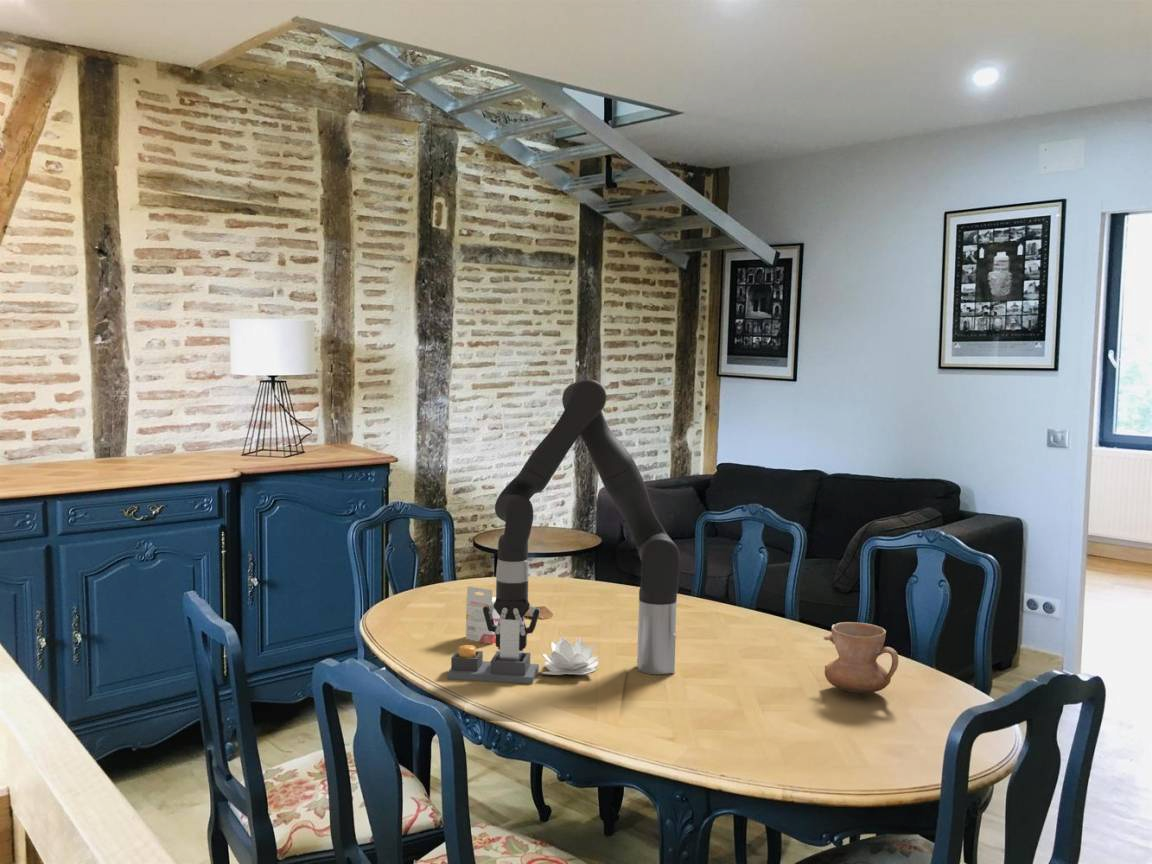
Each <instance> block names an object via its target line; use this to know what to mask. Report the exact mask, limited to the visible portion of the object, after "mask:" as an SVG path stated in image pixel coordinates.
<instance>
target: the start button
mask: <svg viewBox="0 0 1152 864" xmlns="http://www.w3.org/2000/svg"><path fill="white" fill-rule="evenodd" d="M476 648H477V647H476V645H473V644H472V645H471V644H464V645H460V646H458V650H459V657H468V658H475V657H476V651H477V649H476Z"/></svg>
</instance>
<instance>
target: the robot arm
mask: <svg viewBox="0 0 1152 864" xmlns="http://www.w3.org/2000/svg"><path fill="white" fill-rule="evenodd" d="M561 398H562V399H561V402H562V407H563V409H564V410H563V412H562V414H561V415H560V417H559V419H558V420H557V422H556V423H555V425H554V426H553V428H552V429H551V430H550V431H549V433H547V434H546V436H545V437H544V438H543V439H542V440H541V442H539V444H538V445H537V446H536V448H535V449H534V450H533V451H532V453H531V454H530V456H529V457H528V459H527V460H526V462H525V463H524V465H523V467H522V469H521V470H520V471H519V473H518V474H517V475H516V476H515V477H513V479H512V480H511V481H510V482H509V484H507V485H506V486H505V487H504V489H502V491H501V492H500V494H499V495H498V496H497V499H496V501H495V504H494V513H495V515H496V517H497V518H499V520H501V521H503V522H505V525H504V526H505V527H504V533H502V534H501V535H500V536H499V538H498V541H497V543H498V544H497V564H496V572H495V578H496V579H495V583H496V585H495V587H496V588H495V590H496V591H495V597H496V601H495V603H494V604H491V605H488V604H487V605H485V606H484V608H483V612H484V616H485V620H486V624H487V628H488V630H489V631H492V632H495V634H496V643H495V647H496V648H497V649H498V650H497V651H500V620H501V619H505V618H511V619H517V620H520V633H521V635H520V651H522V652H524V649H526V647H527V644H528V643H527V641H528V636H527V635H528V634H533V633H534V631H535V629H536V626H537V623H538V620H539V619H538V617H539V614H540V610H541V609H540V606H532V605H531V603H530V602H529V561H528V559H529V557H528V555H529V538H530V536H531V531H532V527H533V522H534V507H533V504H532V502H531V500H530V499H531V498H533V496H534V495H535V494H539V493H541V492H542V491H544V490H545V488H547V486H548V484H549V482H550V481H551V479H552V478H553V476H554V474H555V473H556V471H557V470H558V468H559V467H560V465H561V464H562V461H564V459H565V457H566V455H567V454H568V453H569V451H570V449H571V448H572V446H573V445H574V444H575V442H576V441H577V440H578V439H579V437H581V439H582V441H583V443H584V444H585V446H586V449H587V451H588V453H589V456H590V458H591V460H592V462H593V464H594V467H595V468H596V469H595V470H596V471H597V474H598V475H599V477H600V480H601V482H602V484H603V486H604V488H605V490H606V492H607V493H608V496H609V497H610V499H611V501H612V502H613V504H614V506H615V508H616V509H617V511H618V512H619V514H620V515H621V516H622V517H623V519H624V521H625V522H626V524H627V526H628V528H629V530H630V532H631V536H632V539H633V541H634V543H635V546H636V549H637V553H638V557H639V559H640V561H641V567H640V569H641V571H640V586H639V587H640V588H639V589H638V591H639V592H638V621H637V622H638V624H637V653H636V654H637V658H636V663H637V664H636V667H637V670H638V671H640V672H642V673H645V674H649V675H668V674H675V671H676V670H675V669H676V668H675V665H676V639H677V638H676V635H677V632H676V631H677V598H678V591H679V586H680V585H679V582H680V563H681V558H680V557H681V556H680V551H679V548H678V546H677V544H675V542H674V541H673V540H672V538H671V537H670V536H669V535H668V533H667V531H666V529H665V528H664V526H663V525H662V524H661V521H660V520H659V519H658V516H657V514H656V512H655V510H654V508H653V505H652V502H651V497H650V494H649V492H648V489H647V486H646V484H645V481H644V479H643V477H642V474H641V472H640V470H639V468H638V466H637V463H636V462H635V460H634V459H633V457H632V455H631V454H630V453H629V451H628V450H627V448H626V447H625V446H624V444H622V442H621V441H620V440H619V439H618V438H617V436H615V434H614V433H613V431H612V430H611V429H610V427H609V425H608V423H607V420H606V419H605V418H606V417H605V416H604V414H603V410H604V408H605V405H606V403H607V393H606V389H605V387H604V386H603V385H602V384H601V383H600V382H599V381H597V380H595V379H590V378H589V379H581V380H578V381H576V382H573V383H571V384H569V385H568V386H566V388H565V389H564V391H563V392H562V397H561ZM535 607H537V608H535ZM494 608H495V610H496V611H497V613H498V614H499V616H500V618H499V621H498V625H497V626H496V625H495V624H494V621H493V617H492V613H493V609H494ZM528 610H529V611H530V615H531V616H532V617H531V620H530V624H529V625H528V627H527V625H526V621H525V616H524V615H525V614H526V612H527V611H528Z"/></svg>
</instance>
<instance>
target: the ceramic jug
mask: <svg viewBox="0 0 1152 864" xmlns="http://www.w3.org/2000/svg"><path fill="white" fill-rule="evenodd" d="M886 633H887V630H886V629H884V628H883V627H881V626H878V625H876V624H871V623H866V622H853V621H852V622H851V621H846V622H845V621H844V622H838V623H835V624H832V625H831V633H826V634H824V635H823V640H825V641H829V642H831V643H832V644H833V645H834V646H835V649H836V652H837V654H838V658H836V659H834V660H833V661H831V662H829V663H828V664H825V665H824V676H825V678H826V681H827V682H828V683H830V685H832V686H834V687H835V688H837V689H839V690H842V691H845V692H848V693H856V694H857V693H858V694H866V693H867V694H868V693H869V694H870V693H876V692H879V691H882V690H884V689H885V688H887V687H888V686H889V685H890V683H891V681H892V677H893V676H894V674H895V673H896V671H897V670H898V667H899V656H898V652H897V651H896V650H895V649H894V648H892V647H890V646H884V644H885V640H886V635H887V634H886ZM883 654H889V655H891V667H890V669H889V671H887V670H886V669H885V668H884V667H883V666H882V665H881V664H879V663H878V662H877V659H878V658H879V657H880V656H881V655H883Z"/></svg>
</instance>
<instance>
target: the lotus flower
mask: <svg viewBox="0 0 1152 864" xmlns="http://www.w3.org/2000/svg"><path fill="white" fill-rule="evenodd" d="M550 647H551V648H550V649H551V654H550V655H549V654H545V653H543V654H541V655H542V657H543V658H544V659H545V660H546V661H544V666H545V667H546V669H547V670H548V671H543V672H541V674H542V675H554V676H555V675H556V676H562V675H575V676H583V675H588V674H590V673H594V672H596V667H598V664H599V660H598V659H599V658H600V656H593V657H592V655H593V654H594V651H595V646H589V647H587V646H586V644H585V642H584V641H583V640H581V637H580V636H578V637H577V638H576V640H575V641H574V643H573V644H571V642H570V641H569V640H568V639H565V638H564V637H561V636H560V637H559V639H557V642H556V643H554V642H553V641H551V643H550Z"/></svg>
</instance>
